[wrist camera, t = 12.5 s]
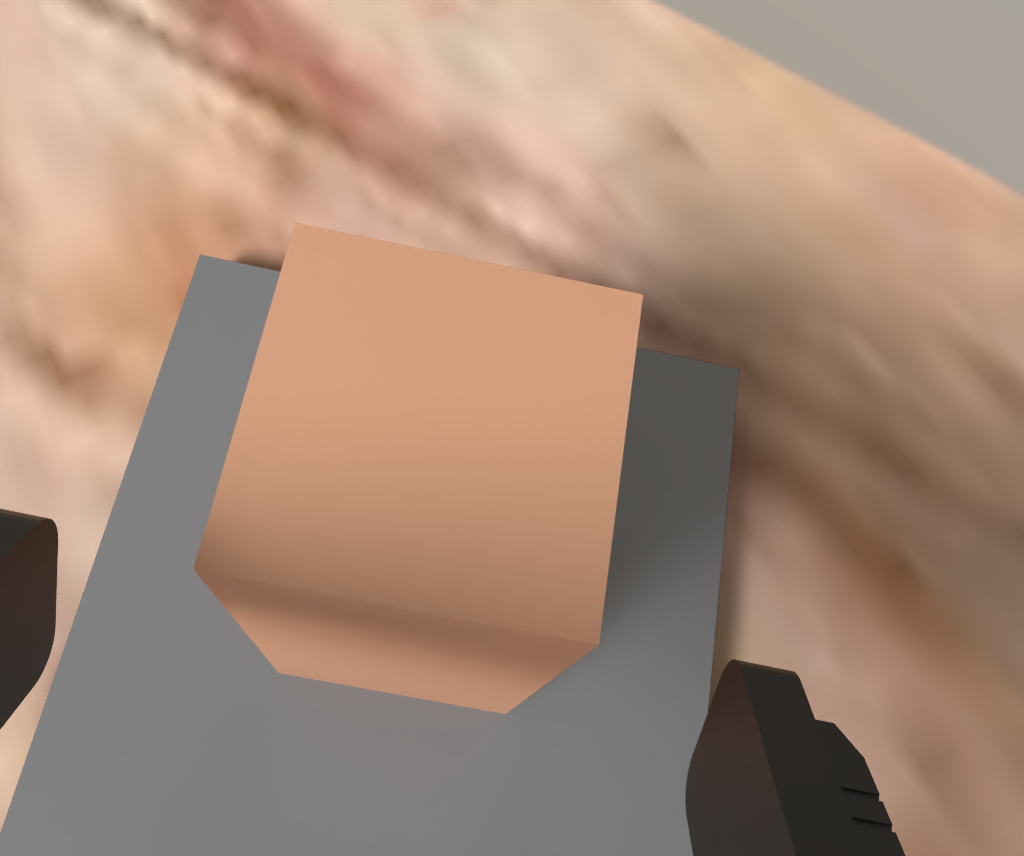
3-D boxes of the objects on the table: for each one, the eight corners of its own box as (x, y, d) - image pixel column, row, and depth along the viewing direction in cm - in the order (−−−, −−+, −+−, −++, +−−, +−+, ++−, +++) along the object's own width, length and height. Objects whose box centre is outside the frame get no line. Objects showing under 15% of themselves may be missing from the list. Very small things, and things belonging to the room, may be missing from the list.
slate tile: (724, 387, 26) (739, 369, 25) (667, 970, 21) (683, 979, 20) (208, 278, 25) (200, 254, 24) (14, 852, 20) (-8, 855, 19)
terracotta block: (539, 498, 23) (642, 294, 14) (505, 714, 21) (598, 644, 12) (331, 459, 23) (294, 223, 13) (278, 673, 21) (193, 569, 12)
